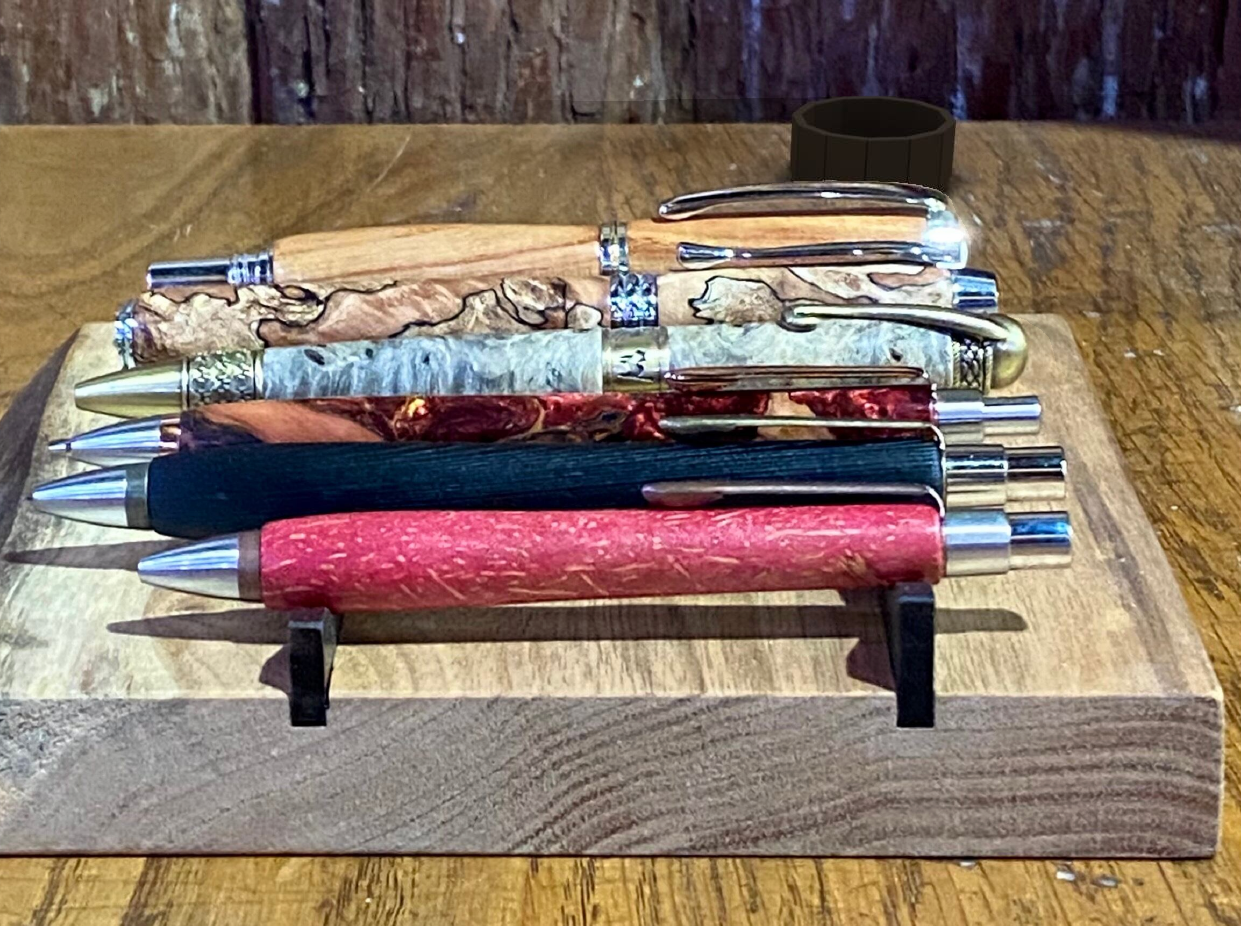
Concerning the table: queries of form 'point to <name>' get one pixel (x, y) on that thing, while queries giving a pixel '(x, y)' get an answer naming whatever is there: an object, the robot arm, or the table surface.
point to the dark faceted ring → (873, 141)
